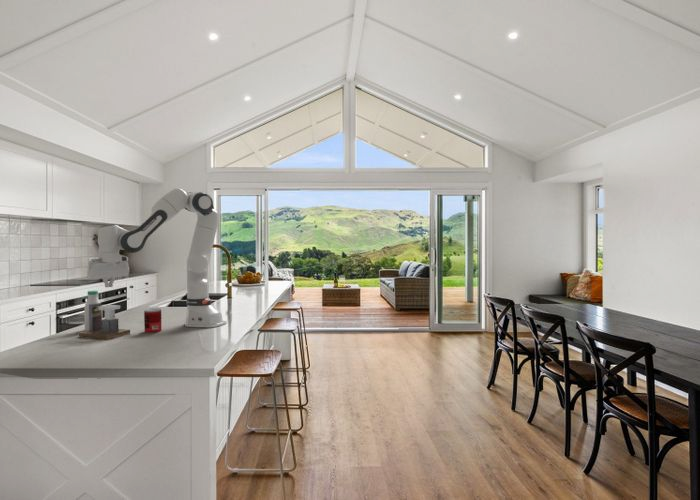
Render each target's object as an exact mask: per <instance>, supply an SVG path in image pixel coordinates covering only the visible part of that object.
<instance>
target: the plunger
mask: <svg viewBox="0 0 700 500" xmlns="http://www.w3.org/2000/svg"><path fill="white" fill-rule="evenodd" d="M96 309H99V310H102V311H104V319H105V320H114V319H116V311H115V310H120V309H121V305H119V304H118V305H117V304H106V305H101V306H96Z"/></svg>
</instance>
